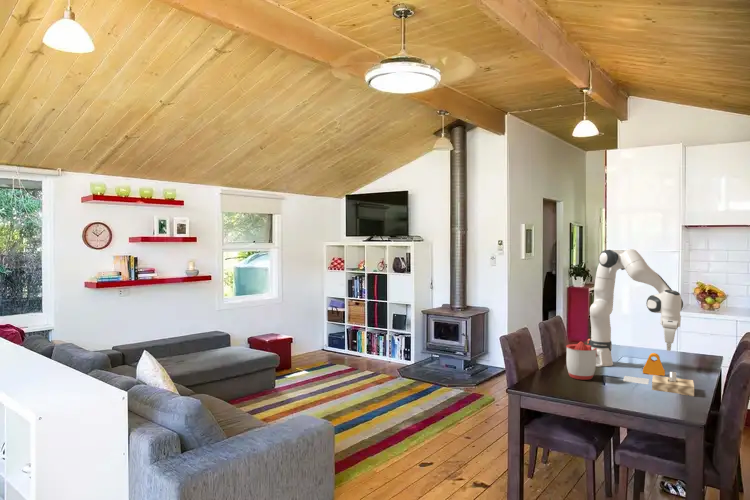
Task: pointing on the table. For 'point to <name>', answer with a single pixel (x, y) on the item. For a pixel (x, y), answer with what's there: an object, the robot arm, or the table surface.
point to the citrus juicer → (581, 361)
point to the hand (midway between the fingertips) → (668, 348)
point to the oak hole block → (673, 385)
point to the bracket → (654, 366)
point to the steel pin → (672, 376)
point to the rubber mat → (636, 380)
